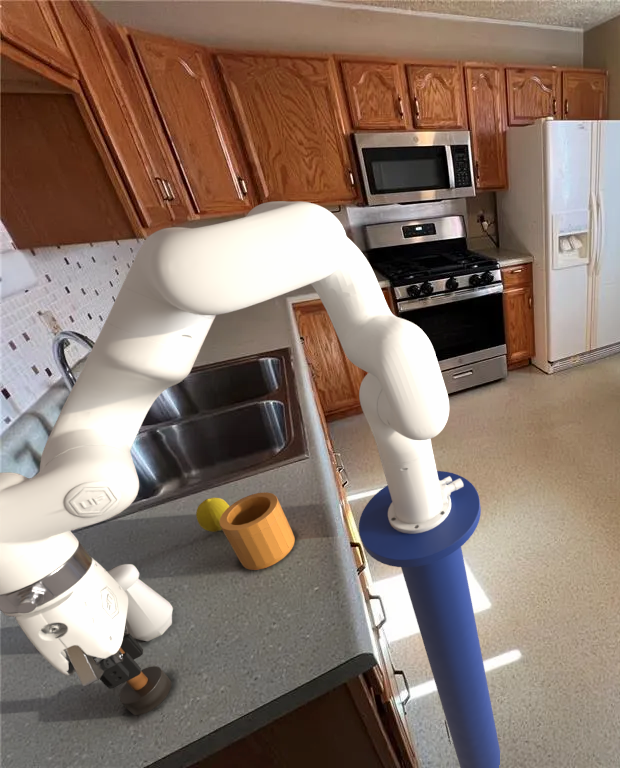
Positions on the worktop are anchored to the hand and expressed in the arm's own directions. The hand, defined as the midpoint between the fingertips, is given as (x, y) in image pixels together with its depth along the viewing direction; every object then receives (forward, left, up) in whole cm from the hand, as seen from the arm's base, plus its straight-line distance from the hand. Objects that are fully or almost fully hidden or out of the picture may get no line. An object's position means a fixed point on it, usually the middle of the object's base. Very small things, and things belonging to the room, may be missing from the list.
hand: (127, 669), depth 54 cm
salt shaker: (0, -12, -7) cm, 14 cm away
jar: (-17, -18, -7) cm, 26 cm away
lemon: (-10, -30, -7) cm, 32 cm away
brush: (0, 0, -7) cm, 7 cm away
